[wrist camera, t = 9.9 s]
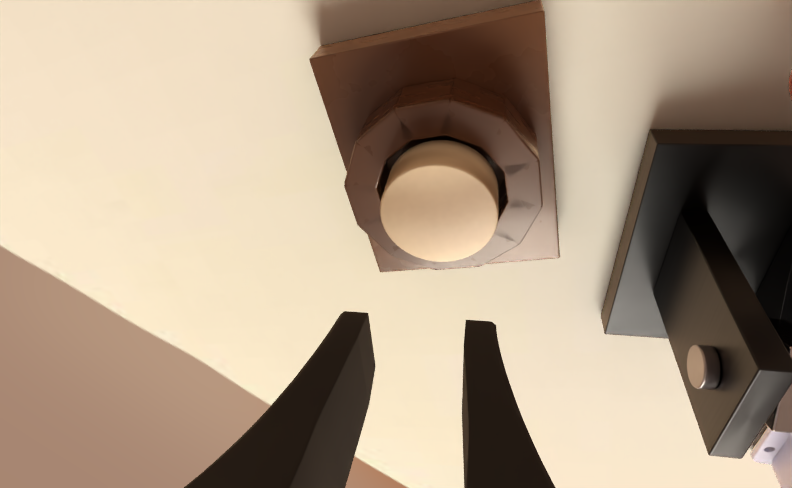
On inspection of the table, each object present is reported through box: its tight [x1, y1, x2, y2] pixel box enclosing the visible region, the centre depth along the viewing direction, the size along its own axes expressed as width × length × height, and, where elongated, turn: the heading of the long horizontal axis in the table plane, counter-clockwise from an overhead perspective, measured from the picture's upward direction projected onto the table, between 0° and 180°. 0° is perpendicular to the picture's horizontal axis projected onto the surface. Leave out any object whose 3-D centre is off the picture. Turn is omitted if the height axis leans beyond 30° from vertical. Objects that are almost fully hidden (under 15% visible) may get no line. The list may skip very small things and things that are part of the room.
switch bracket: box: [601, 130, 792, 459], centre depth 18 cm, size 10×8×9 cm
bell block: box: [310, 0, 560, 272], centre depth 19 cm, size 10×8×4 cm
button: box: [380, 140, 499, 262], centre depth 18 cm, size 4×4×2 cm
